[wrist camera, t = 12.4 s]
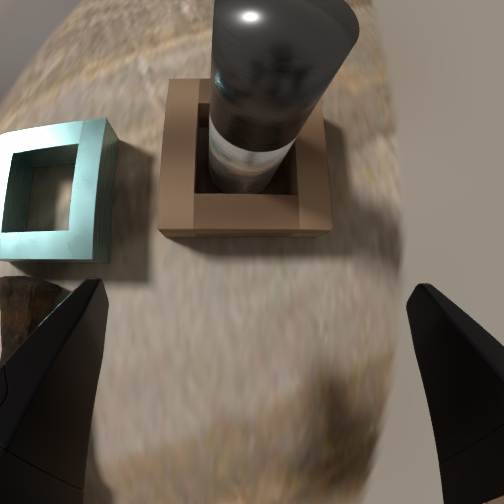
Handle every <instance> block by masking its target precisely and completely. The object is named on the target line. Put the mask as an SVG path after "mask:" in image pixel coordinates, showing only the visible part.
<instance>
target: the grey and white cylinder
mask: <svg viewBox="0 0 504 504" xmlns="http://www.w3.org/2000/svg"><path fill="white" fill-rule="evenodd" d="M358 37H359V23H358V20H357V18H356V15H355V14H354V12H353V10H352V9H351V8H350V6H349V5H348V4H347V3H346V2H345V1H344V0H215V2H214V16H213V34H212V55H211V80H210V114H209V173H210V176H211V179H212V181H213V182H214V184H215V185H216V186H217V187H218V188H219V189H220V190H221V191H223V192H224V193H226V194H258V193H259V192H261V191H262V190H263V189H264V188H265V187H266V186H267V185H268V183H269V182H270V180H271V179H272V177H273V175H274V174H275V172H276V170H277V169H278V167H279V165H280V164H281V162H282V160H283V159H284V157H285V155H286V154H287V152H288V151H289V149H290V147H291V146H292V144H293V142H294V141H295V139H296V137H297V136H298V134H299V133H300V131H301V129H302V128H303V126H304V124H305V123H306V121H307V120H308V118H309V116H310V115H311V113H312V111H313V110H314V108H315V107H316V105H317V103H318V102H319V100H320V99H321V97H322V95H323V94H324V92H325V91H326V89H327V87H328V86H329V84H330V83H331V81H332V79H333V78H334V76H335V75H336V73H337V71H338V70H339V68H340V67H341V65H342V64H343V62H344V60H345V59H346V57H347V56H348V54H349V53H350V51H351V49H352V48H353V46H354V45H355V43H356V42H357V39H358Z"/></svg>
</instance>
